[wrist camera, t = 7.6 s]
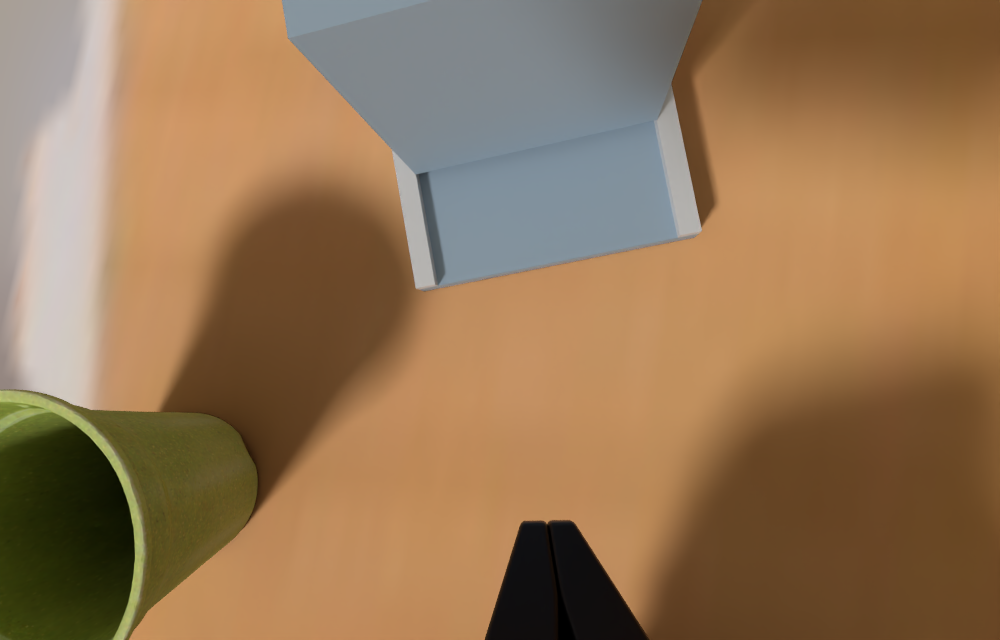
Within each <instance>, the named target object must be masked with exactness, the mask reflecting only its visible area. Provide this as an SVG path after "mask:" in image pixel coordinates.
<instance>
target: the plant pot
mask: <svg viewBox="0 0 1000 640" xmlns="http://www.w3.org/2000/svg"><path fill="white" fill-rule="evenodd" d="M257 487H258V477H257V470H256V466H255V464H254V462H253V460H252V459H251V457H250V455H249V454H248V452H247V449H246V447H245V445H244V443H243V441H242V438H241V435H240V434H239V433H238V432H237V431H236V430H235V429H234V428H233V427H232V426H230V425H229V424H228V423H226V422H225V421H223V420H221V419H219V418H217V417H214V416H212V415H208V414H203V413H186V412H132V411H103V410H89V409H87V408H83V407H80V406H75V405H72V404H70V403H68V402H66V401H64V400H62V399H59V398H57V397H54V396H50V395H47V394H43V393H39V392H33V391H27V390H0V640H129V638H130V636H131V634H132V632H133V630H134V629H135V628H136V627H137V626H138V624H139V623H140V622H141V620H142V619H143V617H144V616H145V614H146V613H147V611H148V610H149V609H151V608H152V607H153V606H154V605H155V604H156V603H157V602H159V601H160V600H161V599H162V598H163V597H165V596H166V595H167V594H168V593H169V592H171V591H172V590H173V589H174V588H175V587H177V586H178V585H179V584H180V583H181V582H183V581H184V580H185V579H186V578H187V577H188V576H190V575H191V574H192V573H193V572H194V571H195V570H197V569H198V568H199V567H200V566H201V565H203V564H204V563H205V562H206V561H207V560H209V559H210V558H211V557H212V556H214V555H215V554H216V553H217V552H218V551H219V550H221V549H222V548H223V547H224V546H225V545H227V544H228V543H229V542H230V541H231V540H232V539H234V538H235V537H236V536H237V534H238V533H239V532H240V531H241V530H242V529H243V527H244V526H245V524H246V522H247V521H248V519H249V517H250V515H251V513H252V511H253V508H254V506H255V501H256V496H257Z"/></svg>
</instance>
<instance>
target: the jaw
mask: <svg viewBox="0 0 1000 640" xmlns="http://www.w3.org/2000/svg"><path fill="white" fill-rule="evenodd" d="M282 3H283V10H284V16H285V22H286V28H287V34H288V39H289V40H290V41H291V42H292V43H293V44H294V45H295V46H296V47H297V48H298V49H299V51H300V52H301V53H302V54H303V55H304V56H305V57H306V58H307V59H308V60H309V61H310V62H311V63H312V64H313V66H314V67H315V68H316V69H317V70H318V71H319V72H320V73H321V74H322V75H323V76H324V77H325V78H326V79H327V80H328V82H329V83H330V84H331V85H332V86H333V87H334V88H335V89H336V90H337V91H338V92H339V93H340V94H341V95H342V97H343V98H344V99H345V100H346V101H347V102H348V103H349V104H350V105H351V106H352V107H353V108H354V109H355V110H356V112H357V113H358V114H359V115H360V116H361V117H362V118H363V119H364V120H365V121H366V122H367V123H368V124H369V125H370V126H371V128H372V129H373V130H374V131H375V132H376V133H377V134H378V135H379V136H380V137H381V138H382V139H383V140H384V141H385V143H386V144H387V145H388V146H389V147H390V148H391V149H392V150H393V151H394V152H395V153H396V154H397V155H398V156H399V158H400V159H401V160H402V161H403V162H404V163H405V164H406V165H407V166H408V167H409V168H410V169H411V170H412V171H413V172H414V174H420V173H424V172H429V171H433V170H438V169H442V168H446V167H451V166H455V165H460V164H464V163H469V162H473V161H477V160H482V159H486V158H491V157H495V156H499V155H504V154H508V153H513V152H517V151H522V150H526V149H530V148H535V147H539V146H544V145H548V144H552V143H557V142H561V141H566V140H570V139H575V138H579V137H583V136H588V135H592V134H597V133H601V132H606V131H610V130H614V129H619V128H623V127H628V126H632V125H636V124H641V123H645V122H650V121H654V120H657V119H658V116H659V114H660V111H661V108H662V106H663V103H664V101H665V98H666V95H667V93H668V90H669V87H670V85H671V82H672V79H673V77H674V74H675V71H676V69H677V66H678V64H679V61H680V58H681V56H682V53H683V50H684V48H685V45H686V42H687V40H688V37H689V34H690V32H691V29H692V26H693V24H694V21H695V19H696V16H697V13H698V11H699V8H700V5H701V3H702V0H282Z"/></svg>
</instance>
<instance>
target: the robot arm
mask: <svg viewBox="0 0 1000 640" xmlns="http://www.w3.org/2000/svg"><path fill="white" fill-rule="evenodd" d="M485 640H649V638H648V637H647V635H646V633H645V632H644V630H643V629H642V627H641V626H640V624H639V623H638V621H637V619H636V618H635V616H634V615H633V613H632V612H631V610H630V608H629V607H628V605H627V604H626V602H625V601H624V599H623V598H622V596H621V594H620V593H619V591H618V590H617V588H616V587H615V585H614V584H613V582H612V580H611V579H610V577H609V576H608V574H607V573H606V571H605V569H604V568H603V566H602V565H601V563H600V562H599V560H598V559H597V557H596V555H595V554H594V552H593V551H592V549H591V548H590V546H589V545H588V543H587V541H586V540H585V538H584V537H583V535H582V534H581V532H580V530H579V529H578V527H577V526H576V525H575V523H574V522H572V521H570V520H552V521H549V522H548V524H546V522H544V521H523V522H522V523H521V525H520V527H519V531H518V534H517V537H516V540H515V543H514V547H513V550H512V553H511V556H510V560H509V563H508V566H507V569H506V572H505V576H504V579H503V582H502V585H501V589H500V592H499V595H498V598H497V601H496V605H495V608H494V611H493V614H492V618H491V621H490V624H489V627H488V630H487V634H486V637H485Z"/></svg>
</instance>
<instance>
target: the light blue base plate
mask: <svg viewBox="0 0 1000 640" xmlns="http://www.w3.org/2000/svg"><path fill="white" fill-rule="evenodd" d="M392 153H393V159H394V165H395V170H396V176H397V182H398V188H399V194H400V199H401V205H402V211H403V217H404V223H405V229H406V234H407V240H408V246H409V252H410V258H411V263H412V269H413V275H414V281H415V287H416V288H417V289H419V290H422V291H428V290H433V289H438V288H443V287H448V286H453V285H458V284H463V283H468V282H473V281H478V280H483V279H488V278H494V277H499V276H504V275H509V274H514V273H519V272H524V271H529V270H534V269H539V268H544V267H549V266H554V265H559V264H564V263H569V262H574V261H579V260H584V259H589V258H594V257H599V256H604V255H609V254H614V253H619V252H624V251H629V250H634V249H639V248H644V247H649V246H654V245H659V244H664V243H669V242H674V241H679V240H684V239H689V238H694V237H695V236H697V235H698V234H699V233H700V232H701V231H702V230H701V225H700V220H699V215H698V210H697V205H696V201H695V196H694V191H693V186H692V181H691V176H690V172H689V167H688V162H687V157H686V152H685V148H684V143H683V138H682V133H681V128H680V123H679V119H678V114H677V109H676V104H675V99H674V94H673V90H672V85H670V87H669V90H668V93H667V95H666V98H665V101H664V103H663V106H662V108H661V111H660V114H659V116H658V119H657V120H654V121H650V122H645V123H641V124H636V125H632V126H628V127H623V128H619V129H614V130H610V131H606V132H601V133H597V134H592V135H588V136H583V137H579V138H575V139H570V140H566V141H561V142H557V143H552V144H548V145H544V146H539V147H535V148H530V149H526V150H522V151H517V152H513V153H508V154H504V155H499V156H495V157H491V158H486V159H482V160H477V161H473V162H469V163H464V164H460V165H455V166H451V167H446V168H442V169H438V170H433V171H429V172H424V173H420V174H414V172H413V171H412V170H411V169H410V168H409V167H408V166H407V165H406V164H405V163H404V162H403V161H402V160H401V159H400V158H399V156H398V155H397V154H396V153H395V152H394V151H393V150H392Z"/></svg>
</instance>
